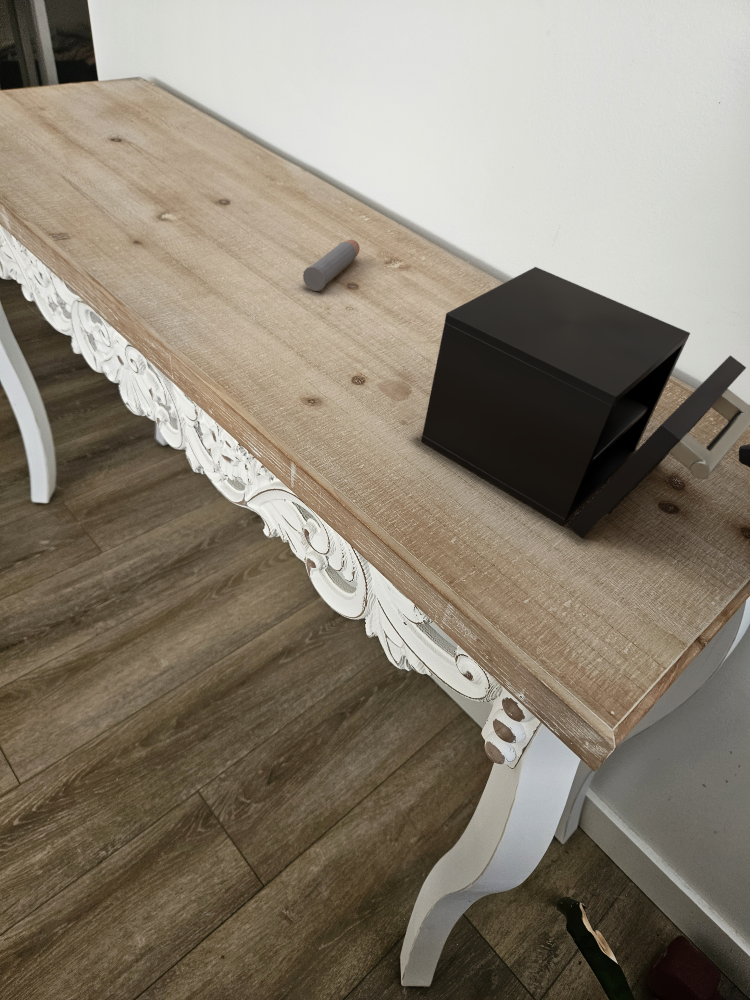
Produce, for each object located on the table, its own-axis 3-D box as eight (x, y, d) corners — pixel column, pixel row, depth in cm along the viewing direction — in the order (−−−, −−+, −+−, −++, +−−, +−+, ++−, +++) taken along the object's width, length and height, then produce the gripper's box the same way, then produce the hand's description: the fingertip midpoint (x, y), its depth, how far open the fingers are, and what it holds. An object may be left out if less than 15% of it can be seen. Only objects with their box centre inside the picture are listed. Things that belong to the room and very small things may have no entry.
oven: (633, 454, 67) (690, 332, 58) (562, 526, 58) (616, 396, 49) (502, 385, 73) (535, 266, 64) (420, 441, 64) (446, 312, 56)
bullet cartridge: (324, 294, 83) (326, 270, 81) (301, 287, 84) (303, 263, 82) (362, 261, 91) (365, 238, 89) (341, 254, 92) (343, 232, 90)
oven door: (678, 487, 65) (780, 392, 56) (612, 566, 57) (718, 470, 47) (637, 453, 66) (730, 354, 57) (566, 525, 58) (661, 424, 48)
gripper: (1069, 216, 41) (762, 251, 49) (1167, 350, 28) (728, 366, 36) (1029, 390, 46) (759, 395, 54) (1095, 568, 33) (729, 539, 42)
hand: (747, 418), depth 47 cm, fingers open, 9 cm apart
